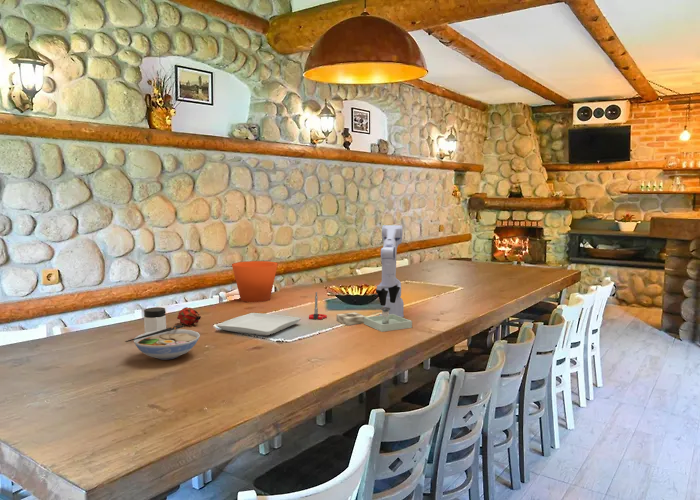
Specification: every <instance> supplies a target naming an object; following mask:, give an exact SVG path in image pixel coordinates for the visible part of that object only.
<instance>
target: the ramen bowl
mask: <svg viewBox="0 0 700 500" xmlns="http://www.w3.org/2000/svg"><path fill="white" fill-rule="evenodd" d="M184 325H185V324H183V325H182V324H177V325H174V326H170V327H168V328H167V327H166V329H164V330H158V331H152V332H147V333H145V332H144V333H142V334H138V335H137V336H135V337H134V338H132V339H128V340H126V341H124V342H126V343H127V342H132V341H133V343H134V344H135V347H137V349H138V350H139V351H140V352H141V353H142V354H144V355H146V356H148V357H150V358H155V359H158V360H162V361H163V360H164V361H166V360H174V359H176V358H179V357H180V356H182V355H184V354H187V353H188V352H190V351H191V350H192V349H193V348H194V347H195V345H197V342H198V341H199V339H200V336H201V334H200V333H199V332H198V331H196V330H195V331H194V330H191V329H184ZM182 328H183V329H182Z"/></svg>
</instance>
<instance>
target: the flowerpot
mask: <svg viewBox="0 0 700 500" xmlns="http://www.w3.org/2000/svg"><path fill="white" fill-rule="evenodd" d="M278 264H279V263H278V262H274V261H267V260H266V261H265V260H263V261H262V260H253V261H252V260H249V261H248V260H247V261H237V262H233V263H231V267H232V270H233V271H232V272H233V274H234V279H235V281H236V282H235V284H236V287H237V290H238V291H237V292H238V294H239V295H238V296H239V298H240V301H241V302H245V303H262V302H263V303H264V302H268V301H270V300H271V296H272V292H273V288H274V283H275V278H276V273H277V269H278Z"/></svg>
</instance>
